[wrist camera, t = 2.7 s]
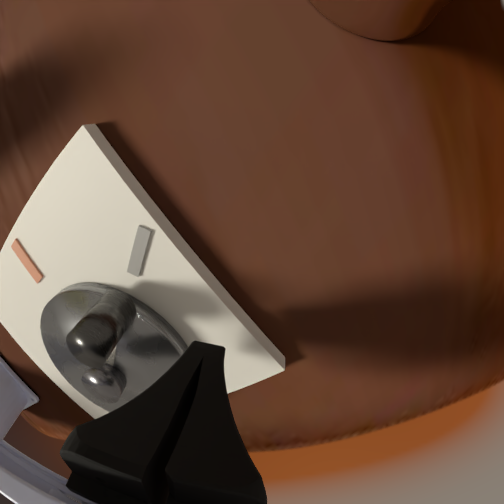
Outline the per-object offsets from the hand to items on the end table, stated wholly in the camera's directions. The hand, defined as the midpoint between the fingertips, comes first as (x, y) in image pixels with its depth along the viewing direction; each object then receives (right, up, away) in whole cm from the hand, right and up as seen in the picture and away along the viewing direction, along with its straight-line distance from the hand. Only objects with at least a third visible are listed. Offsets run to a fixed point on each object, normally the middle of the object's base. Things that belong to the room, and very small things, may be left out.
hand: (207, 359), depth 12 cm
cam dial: (-6, -2, +3) cm, 7 cm away
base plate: (-8, 0, +4) cm, 8 cm away
